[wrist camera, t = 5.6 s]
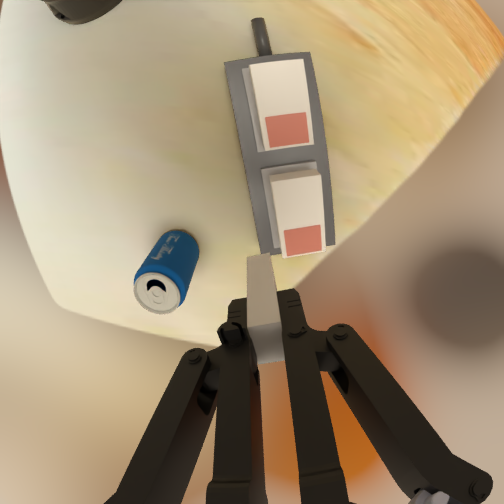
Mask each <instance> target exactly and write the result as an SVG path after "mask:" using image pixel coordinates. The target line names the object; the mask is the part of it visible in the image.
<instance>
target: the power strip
mask: <svg viewBox="0 0 504 504" xmlns="http://www.w3.org/2000/svg"><path fill="white" fill-rule="evenodd" d="M251 22H252V27H253V31H254V35H255V40H256V44H257V49H258V54H259V57H253V58H246V59H240V60H235V61H229V62H224V65H225V70H226V75H227V79H228V84H229V89H230V94H231V99H232V105H233V110H234V115H235V120H236V125H237V130H238V135H239V140H240V145H241V150H242V156H243V161H244V166H245V171H246V176H247V182H248V187H249V192H250V197H251V203H252V208H253V213H254V219H255V224H256V229H257V235H258V240H259V245H260V251H261V254H265V253H270V255H276V254H282V253H281V248H280V242H279V235H278V228H277V222H276V215H275V209H274V202H273V196H272V190H271V183H270V177H269V175H275V174H281V173H288V172H295V171H302V170H309V169H316V170H317V171H318V172H319V173H320V174H321V180H322V192H323V205H324V221H325V241H326V246H330V245H335V229H334V214H333V201H332V190H331V180H330V170H329V161H328V153H327V145H326V138H325V131H324V124H323V118H322V111H321V105H320V100H319V94H318V89H317V83H316V78H315V73H314V68H313V63H312V59H311V54H310V52H300V53H287V54H277V55H272V51H271V47H270V42H269V38H268V34H267V29H266V25H265V21H264V18H254V19H252V20H251ZM294 59H303V61H304V67H305V74H306V81H307V88H308V95H309V103H310V111H311V120H312V129H313V139H314V144H312V145H304V146H296V147H289V148H282V149H275V150H269V151H265V148H264V145H263V140H262V134H261V129H260V123H259V117H258V112H257V106H256V101H255V95H254V90H253V85H252V79H251V74H250V69H249V65H251V64H258V63H265V62H274V61H283V60H294Z"/></svg>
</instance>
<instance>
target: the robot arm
mask: <svg viewBox="0 0 504 504" xmlns="http://www.w3.org/2000/svg"><path fill="white" fill-rule="evenodd" d="M41 1H44V2H45V3H46V4H47V6H48V7H49V8H50V10H51V11H52V12H53V14H54V15H55V16H56V17H57V18H58V19H59V20H61V21H64V22H66V23H69V24H82V23H86V22H89V21H92V20H94V19H96V18H98V17H100V16H102V15H103V14H105V13H106V12H108V11H109V10H111V9H112V8H113V7H115V6H116V5H117V4H118V3H119V2H120V1H121V0H41ZM217 333H218V336H219V338H220V341H221V343H222V345H221V346H219V347H218V348H216V349H213V350H211V351H208V352H206V351H205V350H204V349H201V348H193V349H191V350H189V351H187V352H186V353H185V354H184V355H183V356H182V358H181V360H180V362H179V364H178V366H177V368H176V370H175V372H174V374H173V376H172V378H171V380H170V382H169V384H168V386H167V388H166V390H165V392H164V394H163V396H162V398H161V400H160V402H159V404H158V406H157V408H156V410H155V412H154V414H153V416H152V418H151V420H150V422H149V424H148V427H147V429H146V431H145V433H144V435H143V437H142V439H141V441H140V443H139V445H138V447H137V449H136V451H135V453H134V455H133V457H132V460H131V461H130V464H129V466H128V468H127V470H126V472H125V474H124V476H123V478H122V481H121V483H120V485H119V487H118V489H117V491H116V493H115V494H114V495H112V497H110V498H109V499H108V500H107V501H106V502H105V503H104V504H181V502H182V499H183V497H184V494H185V491H186V488H187V486H188V484H189V481H190V478H191V475H192V473H193V470H194V467H195V465H196V462H197V459H198V457H199V454H200V451H201V449H202V446H203V443H204V440H205V438H206V435H207V432H208V429H209V427H210V424H211V421H212V418H213V415H214V412H215V410H216V407H217V414H216V431H215V446H214V464H213V479H212V481H211V482H210V483H209V484H208V486H207V491H206V504H268V499H267V495H266V490H265V475H264V474H265V473H264V453H263V435H262V434H263V433H262V415H261V394H260V376H259V370H258V367H257V361H258V364H263V363H270V362H277V361H282V360H285V363H286V371H287V379H288V387H289V394H290V402H291V410H292V418H293V426H294V435H295V443H296V452H297V460H298V469H299V485H300V494H301V504H355V503H352V502H349V499H348V494H347V488H346V483H345V477H344V473H343V470H342V468H341V466H340V462H339V457H338V452H337V447H336V442H335V437H334V432H333V427H332V423H331V418H330V413H329V409H328V405H327V400H326V395H325V391H324V387H323V383H322V378H321V374H320V371H327V372H328V374H329V375H330V377H331V378H332V380H333V382H334V383H335V385H336V386H337V388H338V390H339V391H340V393H341V395H342V396H343V398H344V399H345V401H346V403H347V404H348V406H349V407H350V409H351V411H352V412H353V414H354V416H355V417H356V418H357V420H358V422H359V424H360V425H361V427H362V428H363V430H364V432H365V433H366V435H367V436H368V438H369V440H370V441H371V443H372V445H373V446H374V448H375V449H376V451H377V453H378V454H379V456H380V458H381V459H382V461H383V462H384V464H385V465H386V467H387V469H388V470H389V472H390V474H391V475H392V477H393V478H394V480H395V482H396V483H397V485H398V486H399V487H400V488H401V490H402V491H403V492H404V493H405V494H406V495H407V496H408V497H409V498H410V499H411V501H410V502H409V503H408V504H480V503H482V502H483V501H485V500H486V498H487V497H488V496H489V495H490V493H491V490H492V487H493V480H492V477H491V476H490V475H489V474H488V473H487V472H485V471H483V470H481V469H479V468H477V467H475V466H473V465H471V464H470V463H468V462H466V461H464V460H462V459H461V458H459V457H457V456H455V455H453V454H452V453H451V451H450V450H449V449H448V447H447V446H446V445H445V443H444V442H443V441H442V439H441V438H440V437H439V435H438V434H437V433H436V431H435V430H434V429H433V427H432V426H431V425H430V424H429V422H428V421H427V420H426V418H425V417H424V416H423V414H422V413H421V412H420V411H419V409H418V408H417V407H416V405H415V404H414V403H413V402H412V400H411V399H410V398H409V397H408V395H407V394H406V393H405V391H404V390H403V389H402V388H401V386H400V385H399V384H398V383H397V381H396V380H395V379H394V378H393V376H392V375H391V374H390V373H389V372H388V370H387V369H386V368H385V367H384V366H383V364H382V363H381V362H380V360H379V359H378V358H377V357H376V355H375V354H374V353H373V352H372V351H371V349H369V347H368V346H367V345H366V343H365V342H364V341H363V340H362V339H361V337H360V336H359V335H358V334H357V332H356V331H355V330H354V329H353V328H352V327H351V326H349V325H347V324H336V325H333V326H331V327H330V328H329V329H328V330H327V331H317V330H314V329H312V328H310V327H309V326H308V325H307V322H306V319H305V315H304V311H303V307H302V303H301V300H300V296H299V293H298V292H297V291H296V290H295V289H294V288H293V289H288V290H282V291H277V288H276V282H275V277H274V272H273V267H272V262H271V257H270V253H265V254H260V255H254V256H249V257H247V298H241V299H235V300H232V301H231V303H230V305H229V306H228V319H227V322H225V323H224V324H222V325H221V326H220V327H219V328H218V331H217Z"/></svg>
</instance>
